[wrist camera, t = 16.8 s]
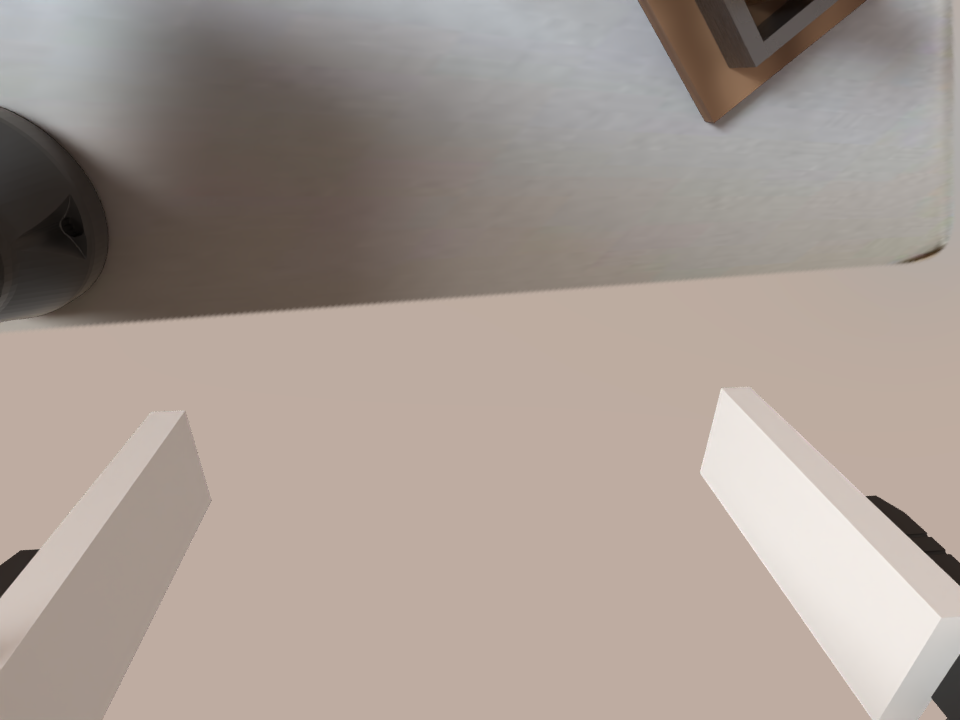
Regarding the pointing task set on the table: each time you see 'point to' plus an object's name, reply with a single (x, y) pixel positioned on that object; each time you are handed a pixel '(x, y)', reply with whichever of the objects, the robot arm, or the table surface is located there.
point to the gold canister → (754, 1)
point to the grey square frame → (756, 28)
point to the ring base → (703, 61)
